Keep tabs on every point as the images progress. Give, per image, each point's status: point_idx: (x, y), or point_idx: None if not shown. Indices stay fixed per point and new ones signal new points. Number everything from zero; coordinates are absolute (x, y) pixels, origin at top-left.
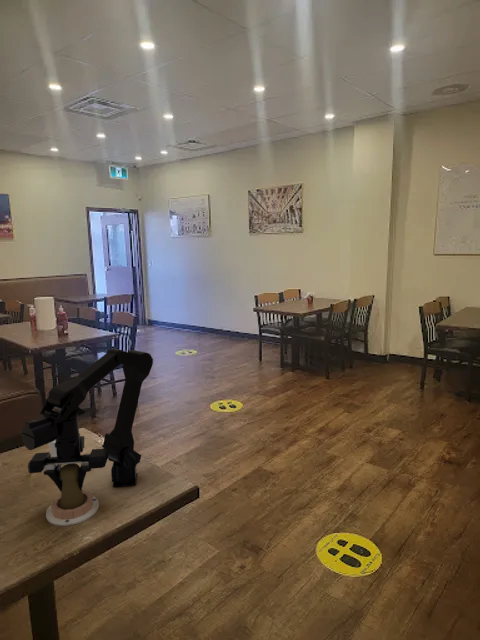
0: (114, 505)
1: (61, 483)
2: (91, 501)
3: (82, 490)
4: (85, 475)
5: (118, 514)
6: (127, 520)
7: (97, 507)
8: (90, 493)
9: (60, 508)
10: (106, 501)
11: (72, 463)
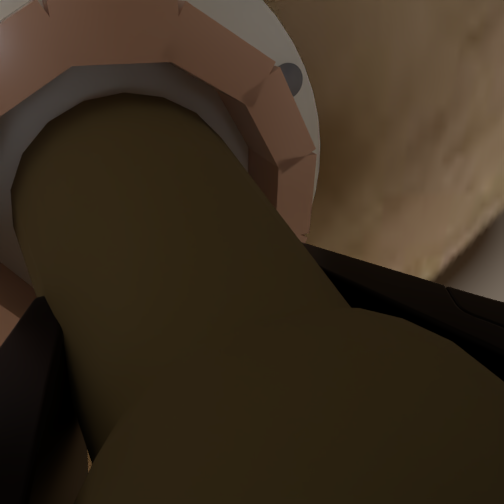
0: (398, 127)
1: (77, 440)
2: (306, 211)
3: (195, 16)
4: (452, 292)
5: (409, 219)
6: (438, 261)
7: (315, 187)
8: (291, 95)
9: (4, 210)
10: (354, 67)
11: None
